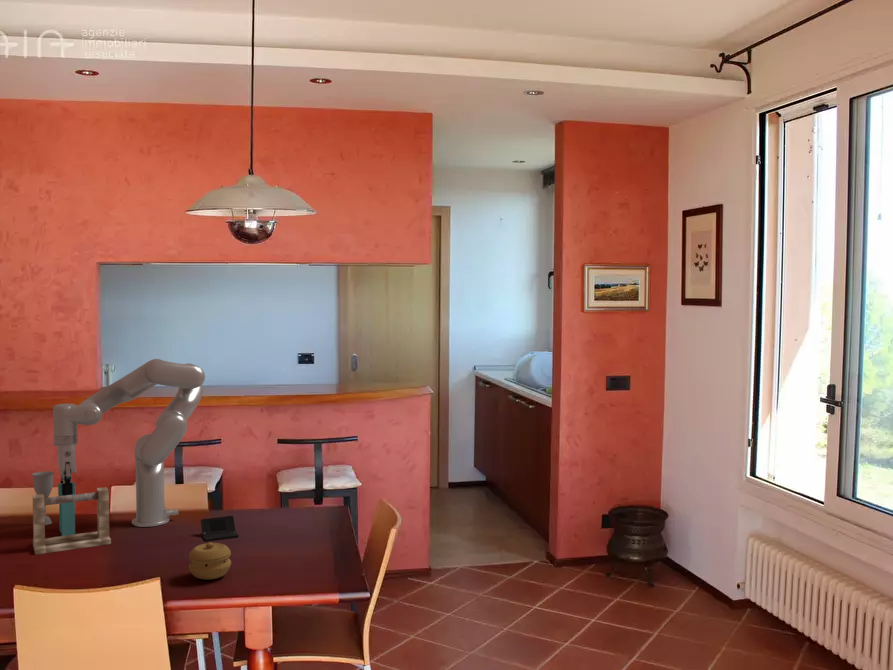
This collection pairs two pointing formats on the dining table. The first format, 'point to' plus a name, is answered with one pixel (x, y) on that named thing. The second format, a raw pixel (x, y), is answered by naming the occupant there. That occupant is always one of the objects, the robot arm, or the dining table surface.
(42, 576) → the dining table surface
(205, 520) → the handheld gaming console
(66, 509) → the teal rectangular block
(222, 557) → the pot
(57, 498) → the rack
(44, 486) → the chalice
